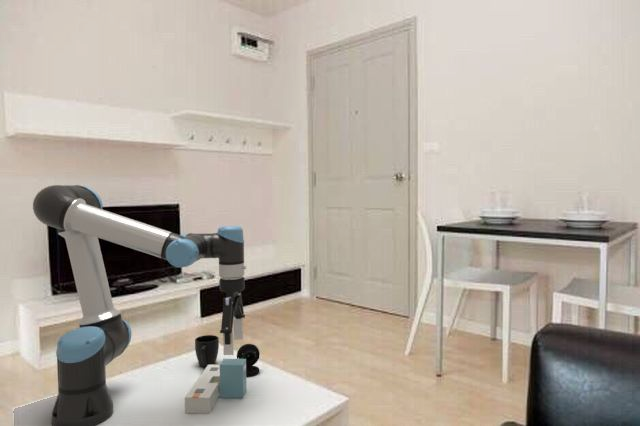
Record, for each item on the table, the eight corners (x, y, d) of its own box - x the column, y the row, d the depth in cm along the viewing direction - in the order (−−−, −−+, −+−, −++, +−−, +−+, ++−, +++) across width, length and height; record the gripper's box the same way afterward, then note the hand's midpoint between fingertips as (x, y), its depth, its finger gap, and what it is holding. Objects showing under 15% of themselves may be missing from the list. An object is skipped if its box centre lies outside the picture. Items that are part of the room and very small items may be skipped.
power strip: (184, 413, 126) (184, 396, 126) (214, 368, 159) (214, 355, 158) (209, 413, 126) (209, 397, 126) (234, 368, 158) (234, 355, 158)
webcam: (238, 378, 150) (238, 348, 149) (235, 370, 157) (235, 341, 157) (261, 375, 152) (261, 346, 152) (257, 367, 159) (257, 339, 159)
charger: (209, 397, 136) (208, 364, 135) (213, 390, 141) (213, 358, 140) (243, 397, 136) (243, 365, 135) (246, 390, 141) (246, 358, 140)
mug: (190, 373, 154) (189, 346, 154) (198, 360, 166) (198, 335, 166) (214, 373, 154) (213, 345, 154) (221, 360, 166) (220, 334, 166)
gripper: (235, 285, 124) (237, 361, 125) (251, 269, 149) (253, 333, 150) (208, 286, 124) (210, 361, 125) (229, 270, 149) (230, 333, 150)
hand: (233, 346), depth 138 cm, fingers open, 13 cm apart
